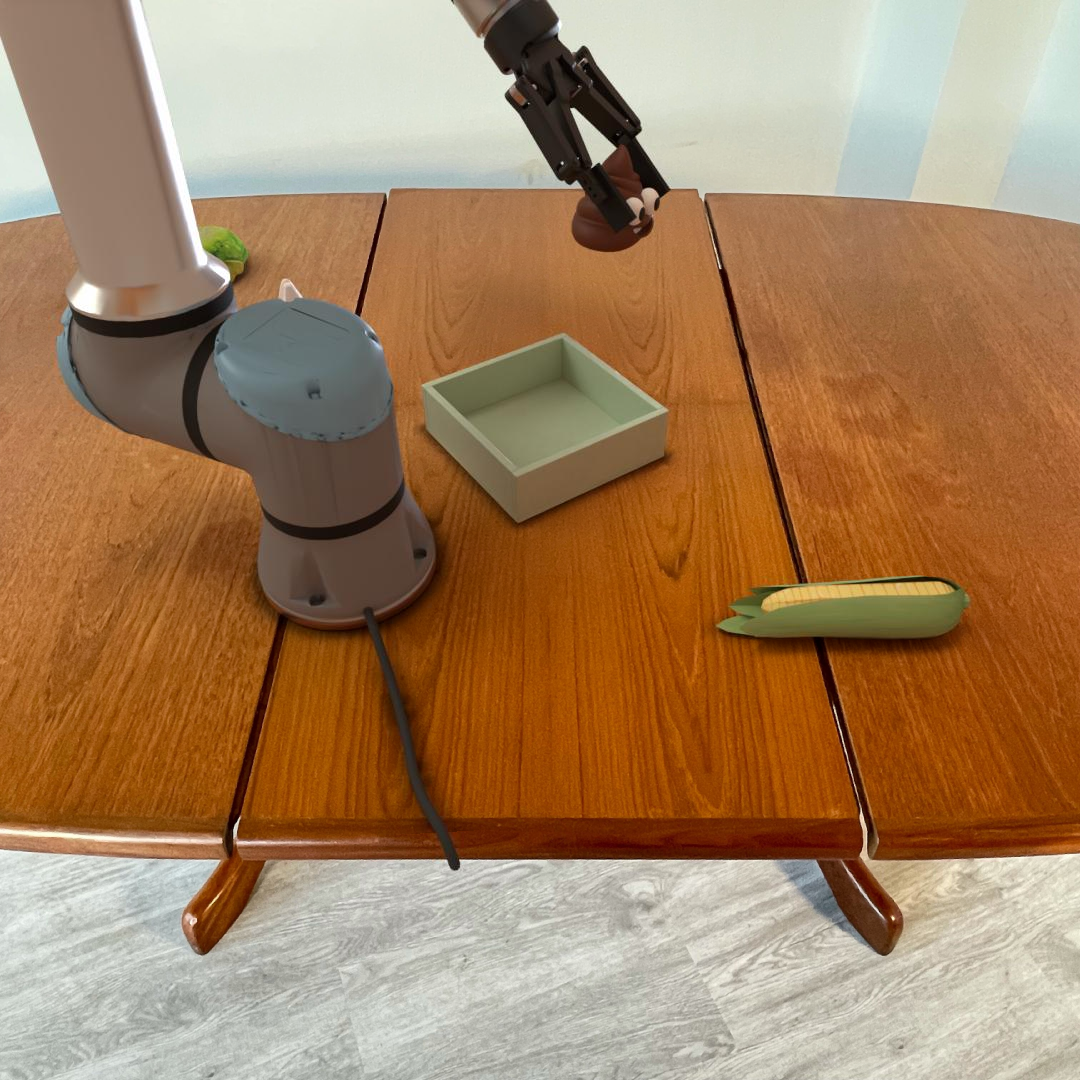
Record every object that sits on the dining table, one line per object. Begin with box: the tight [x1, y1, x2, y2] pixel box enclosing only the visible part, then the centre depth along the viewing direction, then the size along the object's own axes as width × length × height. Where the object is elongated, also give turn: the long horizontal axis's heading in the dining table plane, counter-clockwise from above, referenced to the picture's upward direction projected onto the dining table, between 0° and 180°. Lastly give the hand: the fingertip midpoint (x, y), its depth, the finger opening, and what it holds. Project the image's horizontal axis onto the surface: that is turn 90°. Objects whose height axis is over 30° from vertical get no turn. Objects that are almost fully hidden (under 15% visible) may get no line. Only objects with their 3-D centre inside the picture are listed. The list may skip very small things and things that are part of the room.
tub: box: [420, 332, 670, 524], centre depth 88 cm, size 18×18×6 cm
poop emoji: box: [571, 145, 661, 253], centre depth 93 cm, size 10×8×9 cm
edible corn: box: [715, 575, 971, 640], centre depth 71 cm, size 5×20×5 cm, turn 92°
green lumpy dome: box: [197, 225, 249, 283], centre depth 116 cm, size 12×11×5 cm
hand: (643, 211), depth 92 cm, fingers closed on poop emoji, 7 cm apart
